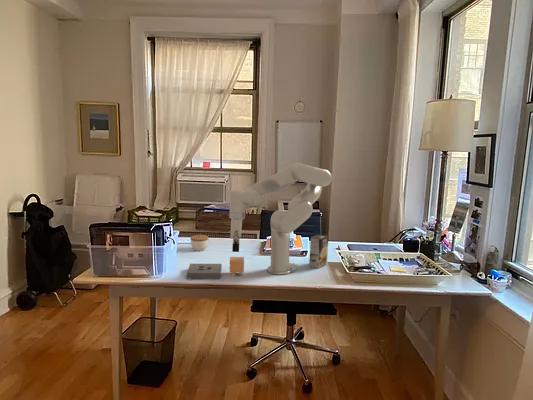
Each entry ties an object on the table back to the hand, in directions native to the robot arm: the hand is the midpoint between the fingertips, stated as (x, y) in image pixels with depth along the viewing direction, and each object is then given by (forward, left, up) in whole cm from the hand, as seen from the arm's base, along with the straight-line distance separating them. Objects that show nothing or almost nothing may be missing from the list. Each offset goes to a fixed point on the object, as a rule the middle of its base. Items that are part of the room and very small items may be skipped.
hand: (235, 248), depth 195 cm
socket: (+15, 0, -13) cm, 20 cm away
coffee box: (-45, -14, -13) cm, 49 cm away
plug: (-1, 0, -13) cm, 13 cm away
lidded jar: (+22, -42, -13) cm, 50 cm away
